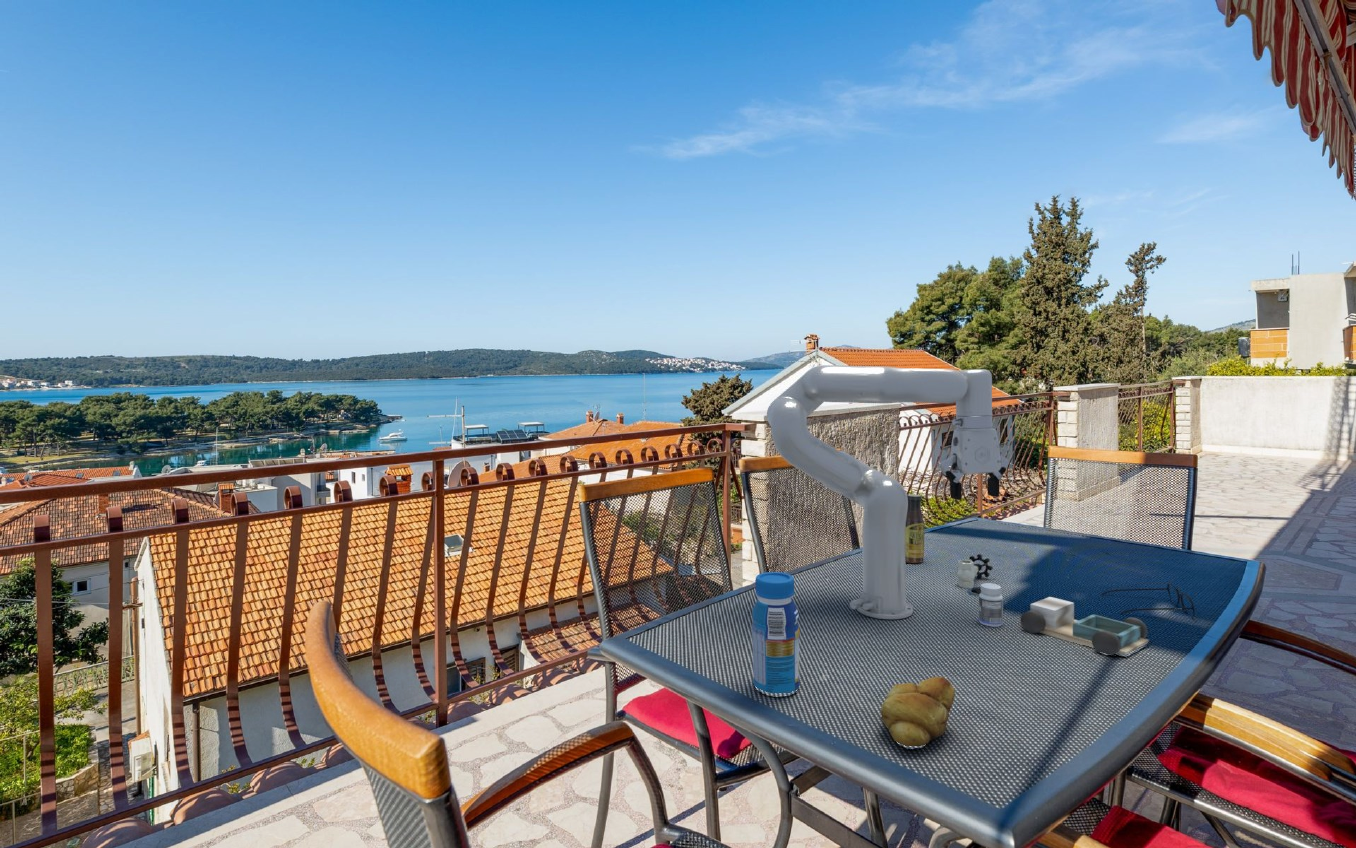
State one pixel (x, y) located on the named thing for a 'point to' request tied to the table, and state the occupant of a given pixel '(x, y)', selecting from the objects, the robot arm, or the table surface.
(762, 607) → the beverage bottle
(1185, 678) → the table surface
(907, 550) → the sauce bottle
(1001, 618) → the pill bottle
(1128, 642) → the toy car chassis
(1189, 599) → the glasses
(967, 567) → the valve
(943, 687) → the bread roll
